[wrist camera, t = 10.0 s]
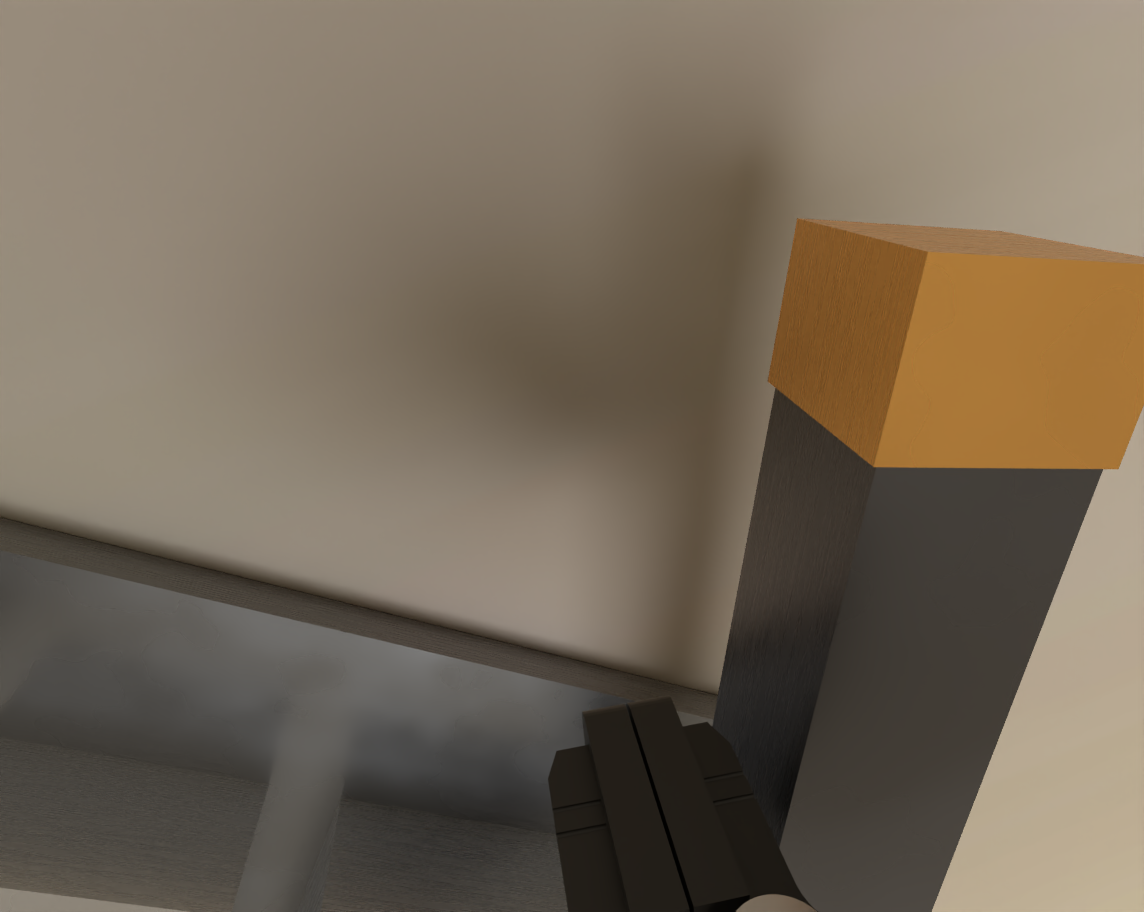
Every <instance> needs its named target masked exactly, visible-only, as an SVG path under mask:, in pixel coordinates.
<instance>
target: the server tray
mask: <svg viewBox="0 0 1144 912" xmlns="http://www.w3.org/2000/svg"><path fill="white" fill-rule="evenodd" d="M667 695H669V696H670V697H671V699H672V701H673V703H674V706H675V708H676V711H677V713H678V716H679V718H680V721H681V723H682V726H688V725H693V724H698V723H703V722H708V723H709V724H710V725H711V726H712V725H713V719H714V714H715V709H716V703H717V698H718V695H714V694H710V693H706V692H702V691H698V690H694V689H689V688H685V687H681V686H677V685H673V684H669V683H665V682H661V681H657V680H653V679H649V678H645V677H641V676H637V675H633V674H629V673H625V672H621V671H617V670H613V669H609V668H605V667H601V666H597V665H593V664H589V663H585V662H581V661H577V660H573V659H569V658H564V657H560V656H556V655H552V654H548V653H544V652H540V651H536V650H532V649H528V648H524V647H520V646H516V645H512V644H508V643H504V642H500V641H496V640H492V639H488V638H484V637H480V636H476V635H472V634H468V633H464V632H460V631H456V630H452V629H448V628H444V627H439V626H435V625H431V624H427V623H423V622H419V621H415V620H411V619H407V618H403V617H399V616H395V615H391V614H387V613H383V612H379V611H375V610H371V609H367V608H363V607H359V606H355V605H351V604H347V603H343V602H339V601H335V600H331V599H327V598H323V597H319V596H314V595H310V594H306V593H302V592H298V591H294V590H290V589H286V588H282V587H278V586H274V585H270V584H266V583H262V582H258V581H254V580H250V579H246V578H242V577H238V576H234V575H230V574H226V573H222V572H218V571H214V570H210V569H206V568H202V567H198V566H194V565H189V564H185V563H181V562H177V561H173V560H169V559H165V558H161V557H157V556H153V555H149V554H145V553H141V552H137V551H133V550H129V549H125V548H121V547H117V546H113V545H109V544H105V543H101V542H97V541H93V540H89V539H85V538H81V537H77V536H73V535H69V534H64V533H60V532H56V531H52V530H48V529H44V528H40V527H36V526H32V525H28V524H24V523H20V522H16V521H12V520H8V519H4V518H0V737H4V738H10V739H15V740H21V741H27V742H32V743H38V744H44V745H49V746H55V747H61V748H67V749H72V750H78V751H84V752H89V753H95V754H101V755H106V756H112V757H118V758H123V759H129V760H135V761H140V762H146V763H152V764H157V765H163V766H169V767H174V768H180V769H186V770H191V771H197V772H203V773H208V774H214V775H220V776H225V777H231V778H237V779H242V780H248V781H254V782H259V783H265V784H269V786H268V790H267V793H266V796H265V800H264V803H263V807H262V810H261V813H260V817H259V820H258V824H257V827H256V830H255V834H254V837H253V841H252V844H251V848H250V851H249V854H248V858H247V861H246V865H245V868H244V871H243V875H242V878H241V882H240V885H239V888H238V892H237V895H236V899H235V902H234V905H233V909H232V912H296V911H297V909H298V906H299V904H300V901H301V899H302V896H303V894H304V891H305V888H306V886H307V883H308V881H309V878H310V876H311V873H312V871H313V868H314V865H315V863H316V860H317V858H318V855H319V853H320V850H321V848H322V845H323V842H324V840H325V837H326V835H327V832H328V830H329V827H330V825H331V822H332V819H333V817H334V814H335V812H336V809H337V807H338V804H339V802H340V799H341V797H345V798H350V799H356V800H362V801H367V802H373V803H379V804H384V805H390V806H396V807H401V808H407V809H413V810H418V811H424V812H430V813H435V814H441V815H447V816H452V817H458V818H464V819H469V820H475V821H481V822H486V823H492V824H498V825H503V826H509V827H515V828H521V829H526V830H532V831H538V832H543V833H549V834H555V835H556V831H555V825H554V818H553V811H552V804H551V797H550V791H549V784H548V777H549V773H550V770H551V767H552V764H553V761H554V757H555V754H556V751H558V750H563V749H568V748H574V747H579V746H584V745H585V740H584V731H583V722H582V711H588V710H593V709H599V708H604V707H609V706H615V705H620V704H625V706H626V703H630V702H635V701H640V700H646V699H651V698H656V697H662V696H667Z"/></svg>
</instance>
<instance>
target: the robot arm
mask: <svg viewBox="0 0 1144 912" xmlns="http://www.w3.org/2000/svg"><path fill="white" fill-rule="evenodd" d="M582 722H583V731H584V740H585V745H584V746H579V747H574V748H568V749H563V750H558V751H556V754H555V757H554V761H553V764H552V767H551V770H550V773H549V777H548V784H549V791H550V797H551V804H552V811H553V818H554V825H555V831H556V838H557V845H558V851H559V858H560V864H561V871H562V877H563V884H564V890H565V896H566V903H567V909H568V912H818V911H817V910H815V909H814V908H813V907H812V906H811V904H810V903H809V902H808V901H807V900H806V899H805V897H804V896H803V895H802V893H801V892H800V890H799V888H798V887H797V885H796V883H795V881H794V879H793V877H792V874H791V872H790V870H789V868H788V866H787V864H786V862H785V859H784V857H783V855H782V853H781V851H780V849H779V847H778V844H777V842H776V840H775V838H774V836H773V834H772V832H771V829H770V827H769V825H768V823H767V821H766V819H765V816H764V814H763V812H762V810H761V808H760V806H759V804H758V801H757V799H755V798H754V793H753V791H752V789H751V786H750V784H749V782H748V780H747V778H746V776H744V774H743V769H742V767H741V765H740V763H739V761H738V759H737V756H736V754H735V752H734V750H733V748H732V746H731V744H730V742H729V741H727V740H726V739H725V738H724V737H723V736H722V735H721V734H720V733H719V732H718V731H717V730H715V729H714V728H713V727H712V726H711V725H710V724H709V723H708V722H703V723H698V724H693V725H688V726H682V723H681V721H680V718H679V716H678V713H677V711H676V708H675V706H674V703H673V701H672V699H671V697H670V696H669V695H667V696H662V697H656V698H651V699H646V700H640V701H635V702H630V703H626V706H625V704H620V705H615V706H609V707H604V708H599V709H593V710H588V711H582Z"/></svg>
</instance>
